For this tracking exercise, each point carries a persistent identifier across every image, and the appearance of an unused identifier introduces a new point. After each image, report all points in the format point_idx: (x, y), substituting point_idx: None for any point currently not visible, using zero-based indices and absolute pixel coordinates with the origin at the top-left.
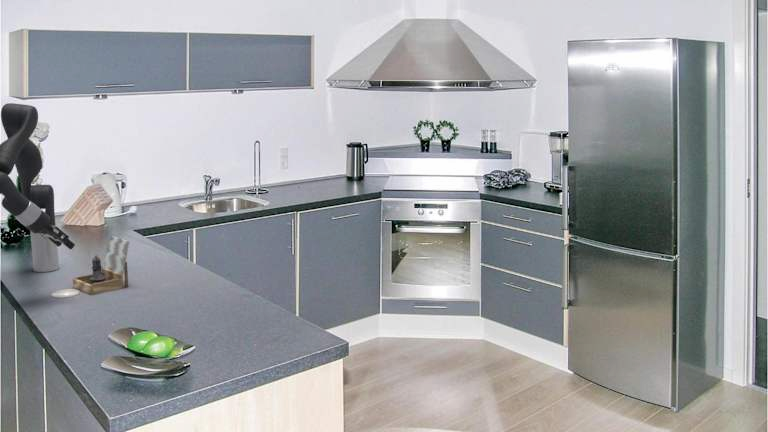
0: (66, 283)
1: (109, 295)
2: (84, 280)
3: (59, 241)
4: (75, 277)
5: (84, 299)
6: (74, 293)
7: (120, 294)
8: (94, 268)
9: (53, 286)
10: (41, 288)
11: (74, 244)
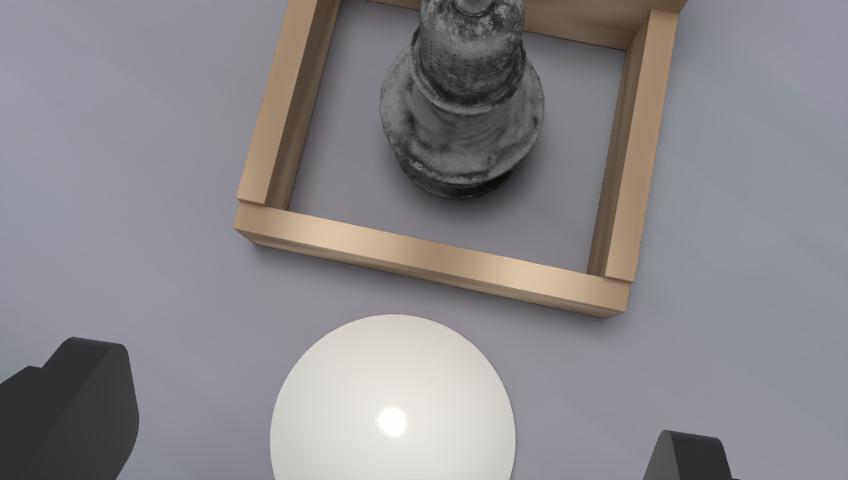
0: (87, 195)
1: (760, 246)
2: (292, 143)
3: (88, 422)
4: (236, 197)
5: None
6: (493, 411)
7: (811, 175)
8: (488, 103)
9: (65, 323)
10: None
11: (722, 445)
